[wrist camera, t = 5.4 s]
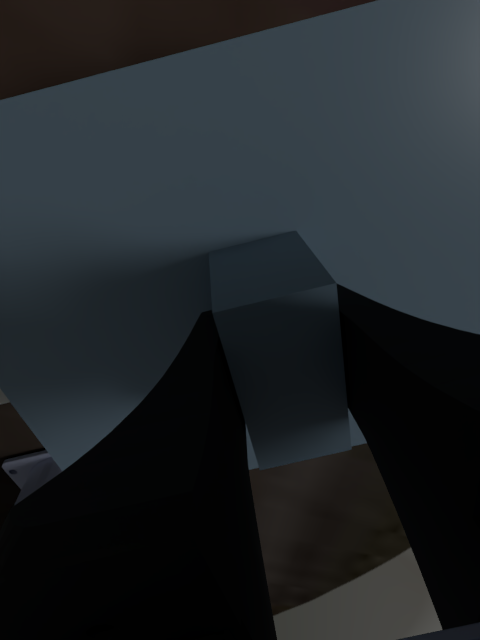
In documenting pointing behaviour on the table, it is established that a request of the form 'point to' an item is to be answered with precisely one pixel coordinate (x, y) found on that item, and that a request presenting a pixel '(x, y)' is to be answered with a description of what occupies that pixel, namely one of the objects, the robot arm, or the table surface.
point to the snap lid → (239, 219)
